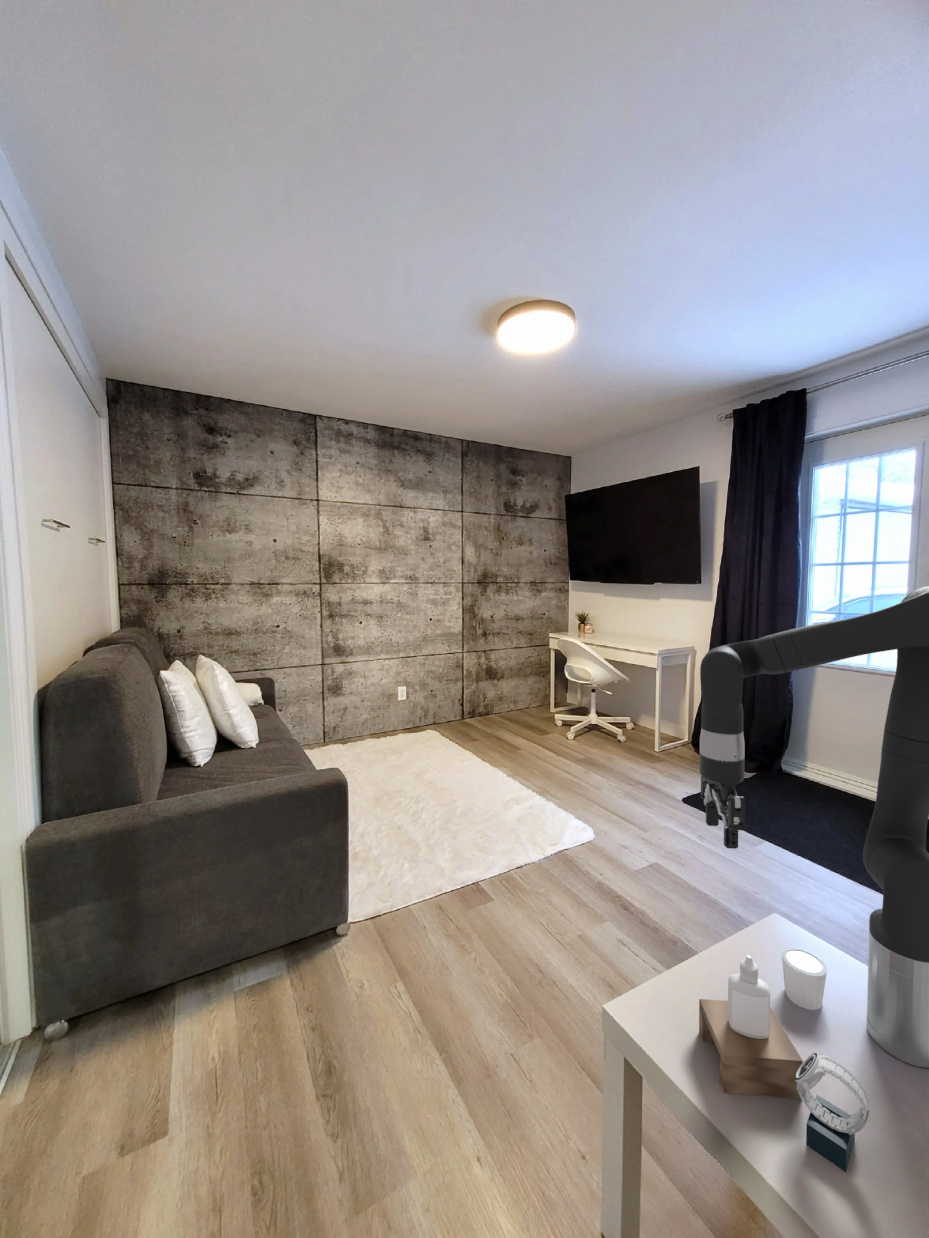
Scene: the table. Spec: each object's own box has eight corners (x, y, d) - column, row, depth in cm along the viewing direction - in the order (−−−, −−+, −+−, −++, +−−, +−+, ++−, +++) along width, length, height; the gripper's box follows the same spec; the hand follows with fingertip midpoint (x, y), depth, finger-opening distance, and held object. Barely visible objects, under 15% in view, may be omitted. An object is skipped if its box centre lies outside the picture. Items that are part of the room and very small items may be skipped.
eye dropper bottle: (764, 1050, 73) (765, 974, 73) (724, 1026, 77) (724, 954, 77) (772, 1031, 76) (774, 958, 76) (734, 1009, 80) (734, 940, 80)
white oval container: (811, 982, 93) (812, 947, 92) (835, 1014, 86) (836, 976, 85) (773, 980, 93) (774, 945, 93) (794, 1011, 87) (794, 974, 86)
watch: (800, 1104, 71) (801, 1033, 71) (871, 1150, 65) (873, 1072, 65) (789, 1133, 67) (790, 1058, 67) (863, 1185, 62) (865, 1103, 61)
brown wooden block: (767, 1037, 82) (768, 1003, 81) (802, 1099, 72) (802, 1060, 72) (699, 1032, 83) (699, 998, 83) (723, 1092, 73) (724, 1054, 73)
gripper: (761, 766, 85) (760, 856, 86) (726, 741, 99) (725, 818, 100) (716, 766, 85) (715, 855, 86) (687, 740, 100) (687, 817, 101)
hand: (721, 835), depth 93 cm, fingers open, 8 cm apart
